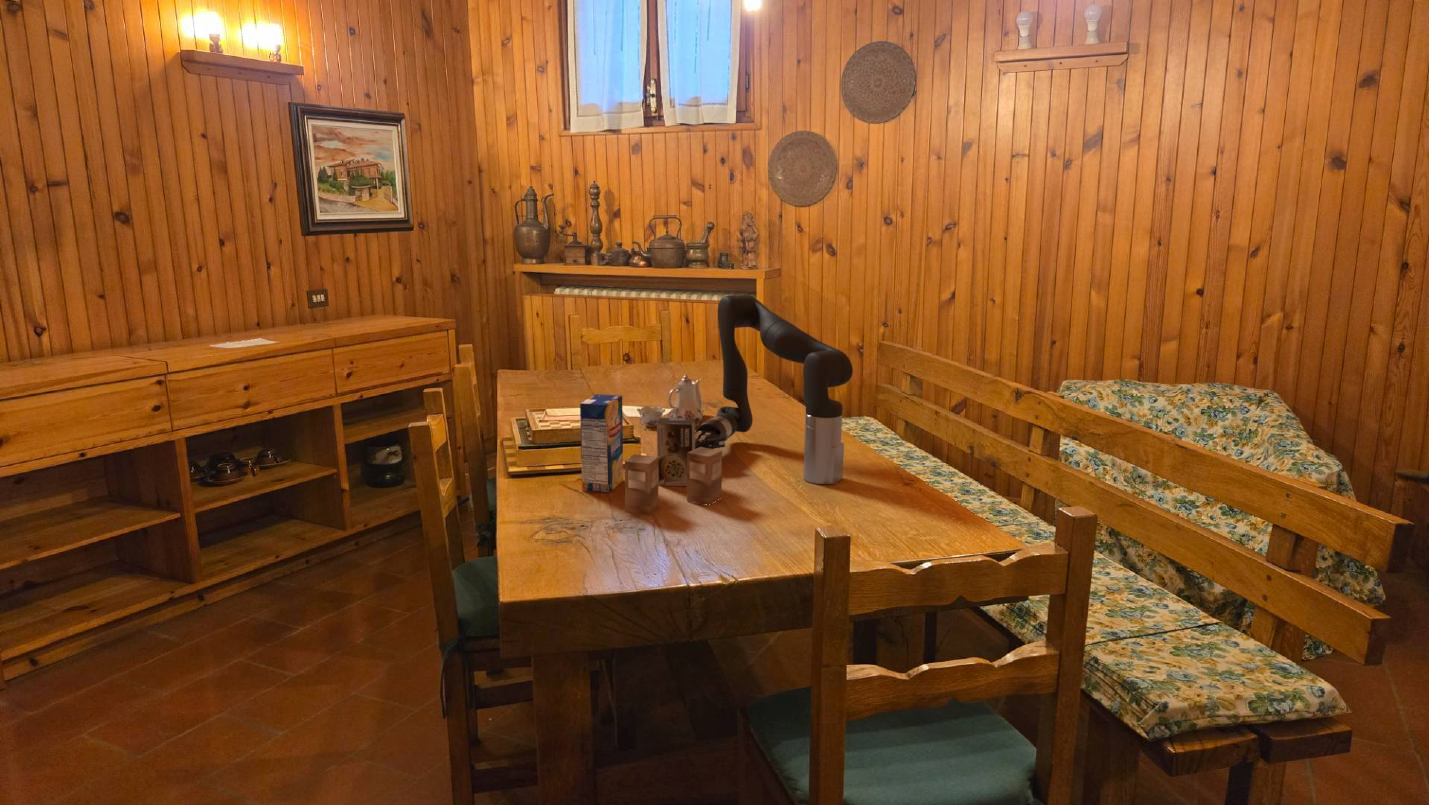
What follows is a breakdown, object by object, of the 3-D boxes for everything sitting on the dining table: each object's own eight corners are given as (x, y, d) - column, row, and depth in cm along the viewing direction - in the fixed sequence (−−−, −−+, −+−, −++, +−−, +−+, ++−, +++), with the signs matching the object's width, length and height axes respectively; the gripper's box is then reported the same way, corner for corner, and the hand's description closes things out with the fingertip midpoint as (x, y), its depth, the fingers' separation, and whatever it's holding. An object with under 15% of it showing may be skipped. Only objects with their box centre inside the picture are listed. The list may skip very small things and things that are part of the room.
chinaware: (687, 416, 312) (684, 366, 309) (727, 418, 302) (724, 367, 299) (630, 432, 290) (626, 379, 288) (671, 436, 280) (667, 381, 277)
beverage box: (581, 491, 229) (579, 403, 224) (597, 478, 239) (596, 393, 234) (608, 493, 227) (606, 405, 222) (623, 480, 237) (622, 395, 233)
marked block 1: (660, 506, 219) (659, 456, 216) (651, 515, 213) (650, 464, 210) (634, 503, 220) (633, 454, 218) (624, 512, 214) (623, 462, 212)
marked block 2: (722, 499, 224) (723, 450, 221) (709, 506, 219) (709, 457, 216) (700, 494, 227) (700, 446, 224) (686, 501, 222) (686, 453, 219)
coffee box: (696, 479, 239) (696, 417, 235) (692, 487, 233) (693, 424, 229) (660, 477, 240) (660, 416, 236) (656, 485, 234) (656, 422, 230)
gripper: (691, 416, 259) (666, 431, 243) (737, 421, 254) (714, 436, 238) (691, 443, 260) (666, 459, 244) (736, 448, 256) (714, 465, 240)
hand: (690, 448), depth 241 cm, fingers closed
